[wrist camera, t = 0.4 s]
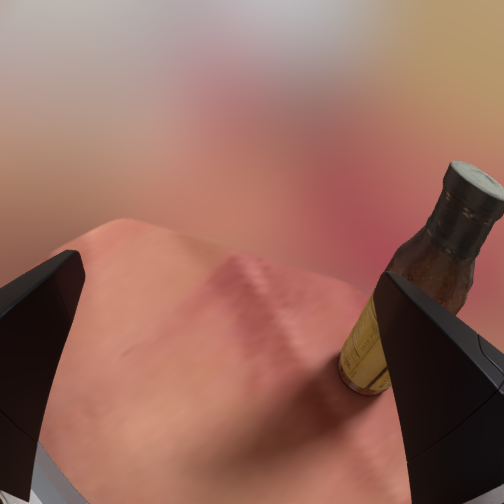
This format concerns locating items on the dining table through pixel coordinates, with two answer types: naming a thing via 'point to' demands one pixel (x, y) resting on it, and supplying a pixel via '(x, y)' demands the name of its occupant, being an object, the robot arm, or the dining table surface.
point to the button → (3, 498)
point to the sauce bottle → (430, 267)
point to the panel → (48, 484)
